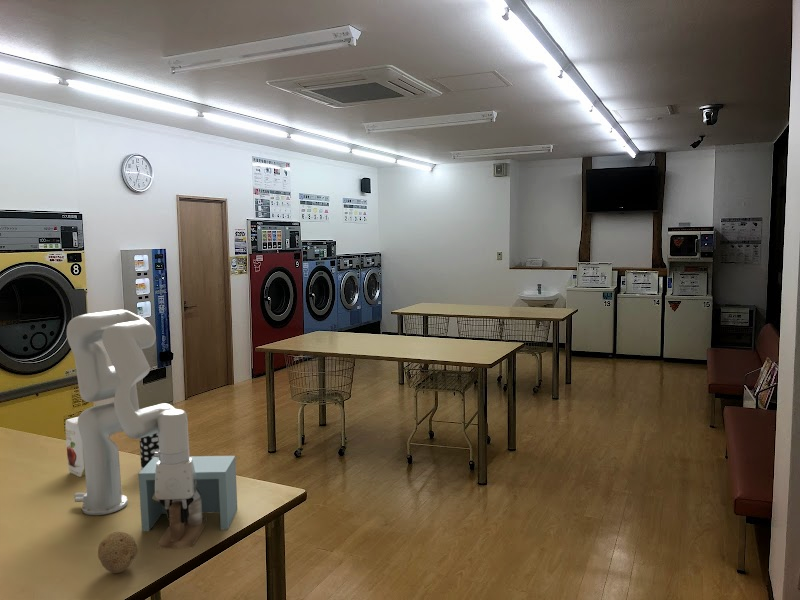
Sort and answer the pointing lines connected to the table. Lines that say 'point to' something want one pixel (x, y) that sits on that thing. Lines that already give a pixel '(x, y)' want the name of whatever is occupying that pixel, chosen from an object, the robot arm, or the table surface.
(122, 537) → the natural sponge
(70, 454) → the juice carton
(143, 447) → the white-spotted black cylinder
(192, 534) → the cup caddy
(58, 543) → the table surface
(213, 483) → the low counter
